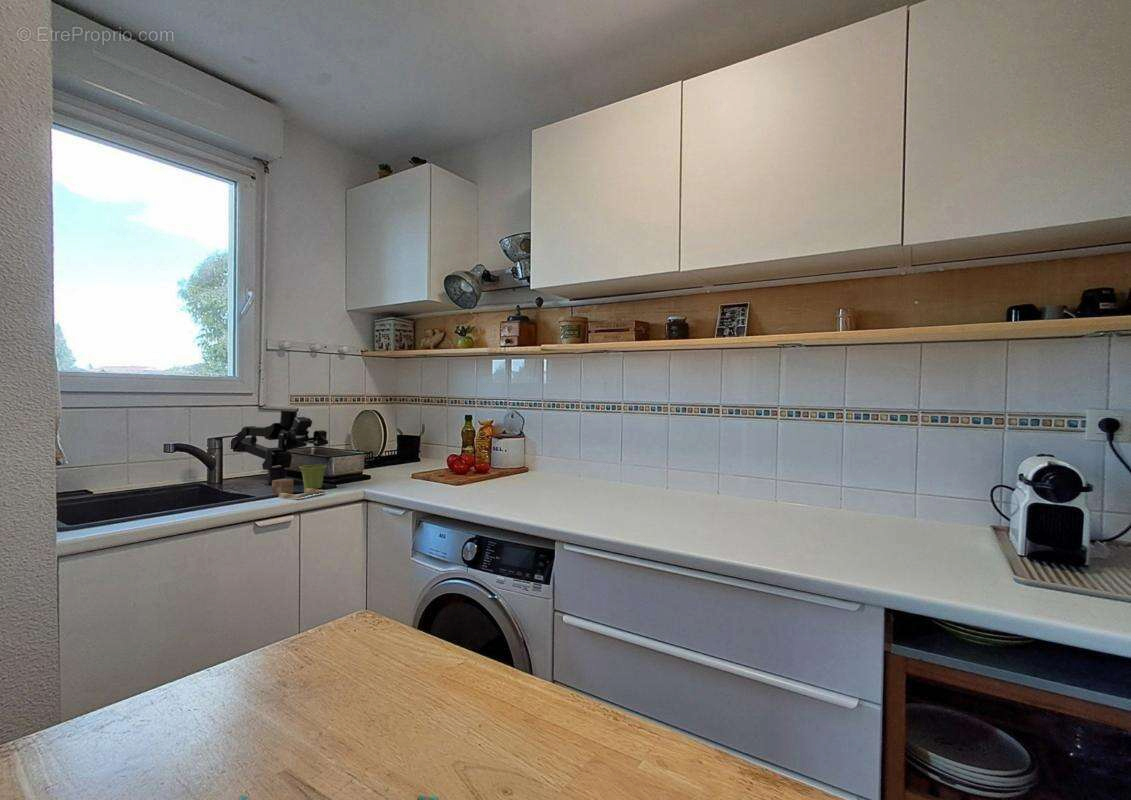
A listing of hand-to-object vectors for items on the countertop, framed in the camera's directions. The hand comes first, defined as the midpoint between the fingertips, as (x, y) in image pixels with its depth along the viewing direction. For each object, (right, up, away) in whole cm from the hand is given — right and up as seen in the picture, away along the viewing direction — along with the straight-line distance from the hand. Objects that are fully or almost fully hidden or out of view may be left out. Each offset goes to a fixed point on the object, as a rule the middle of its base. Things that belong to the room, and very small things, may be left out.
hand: (317, 443), depth 195 cm
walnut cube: (-9, -18, -7) cm, 21 cm away
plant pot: (-3, -18, +3) cm, 18 cm away
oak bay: (0, -18, -11) cm, 21 cm away
